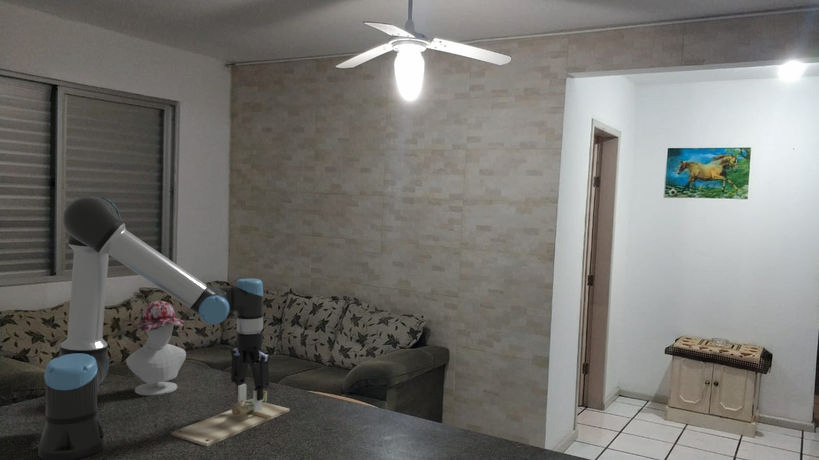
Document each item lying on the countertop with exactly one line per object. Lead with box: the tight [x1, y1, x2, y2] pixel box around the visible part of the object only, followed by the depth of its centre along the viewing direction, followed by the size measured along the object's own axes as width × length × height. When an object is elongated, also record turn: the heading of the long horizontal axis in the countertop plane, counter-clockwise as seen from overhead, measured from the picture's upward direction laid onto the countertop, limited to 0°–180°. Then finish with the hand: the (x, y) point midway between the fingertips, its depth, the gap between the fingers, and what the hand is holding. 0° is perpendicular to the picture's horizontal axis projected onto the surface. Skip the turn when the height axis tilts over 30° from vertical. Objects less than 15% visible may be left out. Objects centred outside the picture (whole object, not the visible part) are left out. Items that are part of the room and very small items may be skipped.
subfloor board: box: [170, 402, 291, 447], centre depth 183 cm, size 32×14×1 cm, turn 149°
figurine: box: [231, 389, 268, 416], centre depth 188 cm, size 6×15×4 cm, turn 154°
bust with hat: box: [125, 300, 187, 396], centre depth 210 cm, size 19×18×30 cm
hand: (249, 408), depth 188 cm, fingers closed on figurine, 6 cm apart
